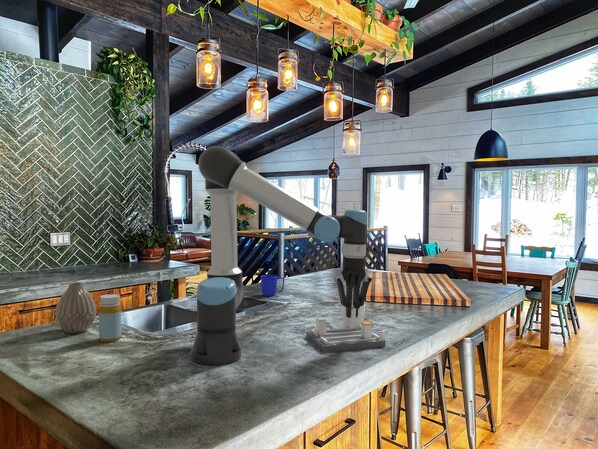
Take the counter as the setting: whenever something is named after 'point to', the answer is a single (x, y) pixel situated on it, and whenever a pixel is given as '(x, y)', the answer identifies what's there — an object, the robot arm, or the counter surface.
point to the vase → (75, 309)
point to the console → (343, 339)
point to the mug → (270, 284)
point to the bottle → (110, 318)
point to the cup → (358, 319)
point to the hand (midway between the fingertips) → (351, 326)
